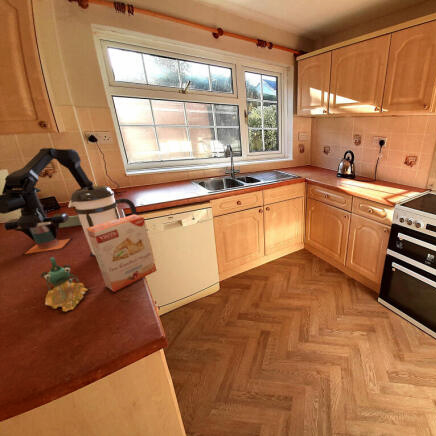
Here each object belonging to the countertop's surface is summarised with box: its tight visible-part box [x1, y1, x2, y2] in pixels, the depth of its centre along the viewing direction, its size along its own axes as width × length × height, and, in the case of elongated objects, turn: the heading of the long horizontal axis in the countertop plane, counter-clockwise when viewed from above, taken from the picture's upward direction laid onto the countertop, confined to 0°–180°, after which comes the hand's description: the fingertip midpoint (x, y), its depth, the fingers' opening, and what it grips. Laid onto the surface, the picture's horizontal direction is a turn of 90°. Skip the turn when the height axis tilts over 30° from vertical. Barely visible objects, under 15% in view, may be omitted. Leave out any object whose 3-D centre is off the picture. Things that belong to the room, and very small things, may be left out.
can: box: [29, 222, 58, 249], centre depth 104 cm, size 6×6×10 cm
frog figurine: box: [40, 256, 88, 312], centre depth 72 cm, size 10×18×15 cm, turn 44°
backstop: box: [58, 214, 82, 229], centre depth 126 cm, size 12×2×5 cm, turn 113°
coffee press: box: [68, 180, 139, 256], centre depth 95 cm, size 17×16×30 cm
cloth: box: [24, 238, 71, 255], centre depth 105 cm, size 12×10×1 cm
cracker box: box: [86, 214, 157, 293], centre depth 78 cm, size 14×6×21 cm, turn 148°
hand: (45, 239), depth 104 cm, fingers closed on can, 6 cm apart
